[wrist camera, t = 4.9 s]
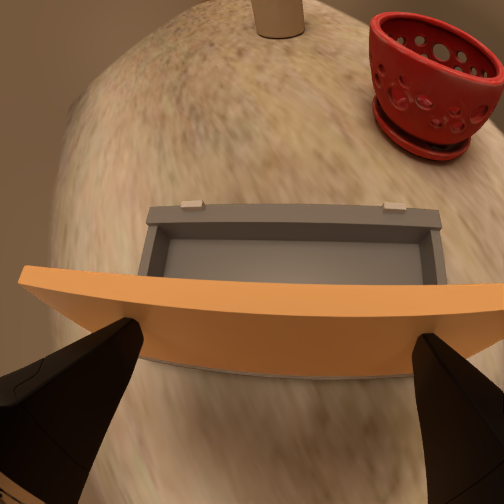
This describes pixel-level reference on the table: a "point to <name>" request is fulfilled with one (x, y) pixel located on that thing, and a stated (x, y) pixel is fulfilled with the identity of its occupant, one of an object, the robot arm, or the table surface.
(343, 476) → the table surface
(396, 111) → the plant pot
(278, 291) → the cover
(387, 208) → the grey rectangular tray
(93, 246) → the table surface
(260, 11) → the travel mug
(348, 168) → the table surface
